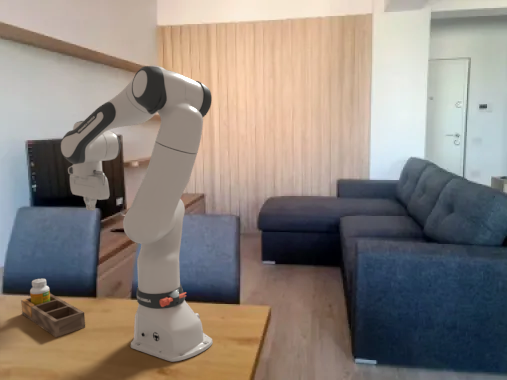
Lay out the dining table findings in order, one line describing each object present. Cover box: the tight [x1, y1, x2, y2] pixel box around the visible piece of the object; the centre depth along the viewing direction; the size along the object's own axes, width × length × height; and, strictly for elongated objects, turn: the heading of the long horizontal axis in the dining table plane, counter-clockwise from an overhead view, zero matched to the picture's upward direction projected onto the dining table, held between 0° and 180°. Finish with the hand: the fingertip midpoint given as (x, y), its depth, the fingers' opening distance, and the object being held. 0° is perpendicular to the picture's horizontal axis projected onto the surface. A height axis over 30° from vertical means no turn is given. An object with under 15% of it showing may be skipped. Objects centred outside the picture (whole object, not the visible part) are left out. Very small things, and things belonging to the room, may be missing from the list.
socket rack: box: [20, 293, 86, 338], centre depth 137 cm, size 24×9×5 cm, turn 47°
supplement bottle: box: [29, 278, 51, 305], centre depth 141 cm, size 5×5×10 cm
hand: (90, 210), depth 156 cm, fingers closed
